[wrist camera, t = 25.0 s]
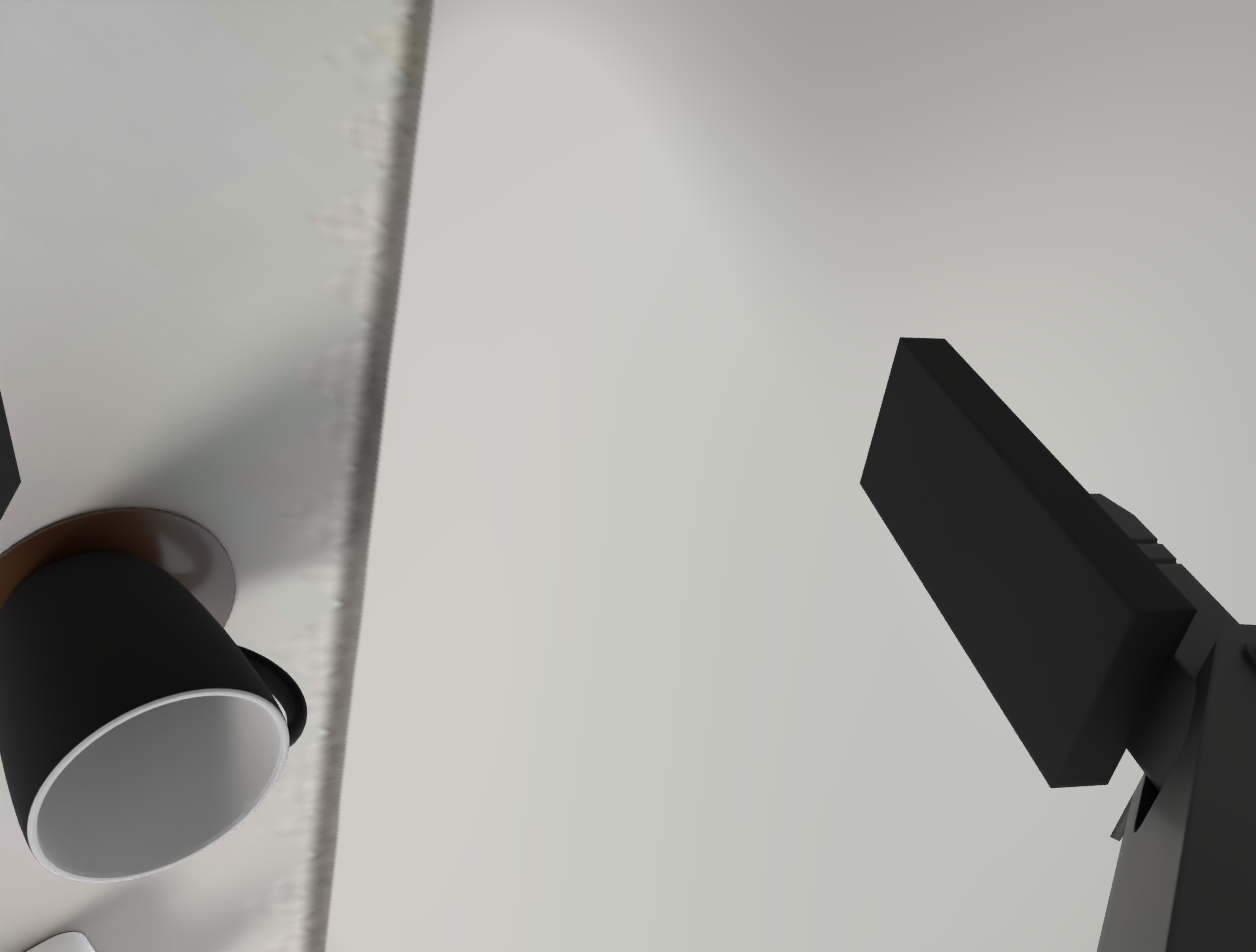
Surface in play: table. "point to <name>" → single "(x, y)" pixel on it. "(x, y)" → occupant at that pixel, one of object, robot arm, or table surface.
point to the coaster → (131, 551)
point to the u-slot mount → (65, 944)
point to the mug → (132, 719)
